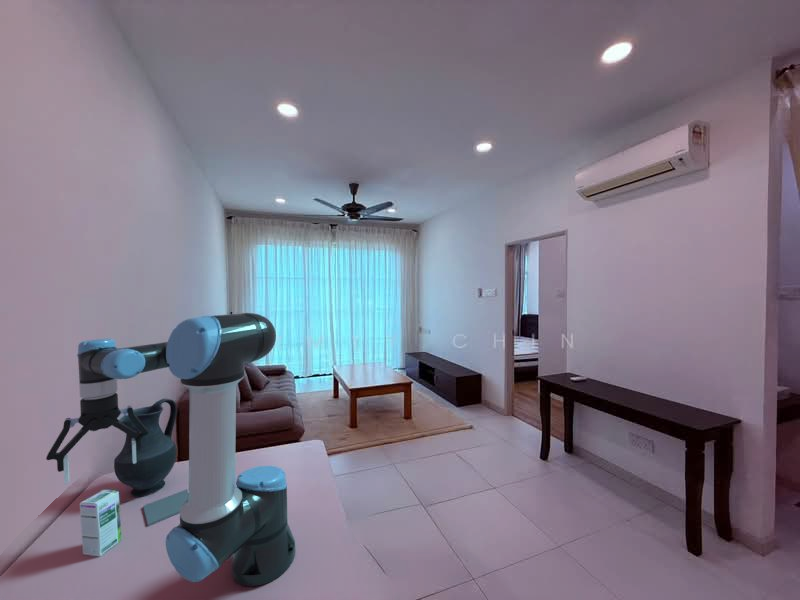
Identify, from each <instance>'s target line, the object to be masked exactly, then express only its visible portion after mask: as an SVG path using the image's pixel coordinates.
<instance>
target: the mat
mask: <svg viewBox="0 0 800 600" xmlns="http://www.w3.org/2000/svg"><path fill="white" fill-rule="evenodd" d="M188 499H189V490H188V489H184V490H181V491H179V492H176V493H173V494H171V495H167V496H166V497H163V498H160V499H157V500H154V501H152V502H149V503H147V504H145V505H143V507H142V508H143V512H144V516H145V521H146V524H147V526H148V527H149V526H152V525H154V524H157V523H160V522H161V521H164V520H167V519H169V518H171V517H173V516H177V515H178V514H179V515H180V510H181V507H182V506H183V504H184V503H185V502H186V501H187V500H188Z"/></svg>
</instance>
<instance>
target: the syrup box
mask: <svg viewBox="0 0 800 600" xmlns="http://www.w3.org/2000/svg"><path fill="white" fill-rule="evenodd" d="M119 493H120V492H119V491H118V490H113V489H101V490H100V491H99V492H97V493H95V494H94V495H92V496H90V497H88V498H87V499H84V500H82V501H81V502H80V503H79V513H80V514H79V515H80V529H81V530H80V531H81V542H82V543H81V545H82V554H83V555H84V556H85V555H86V556H91V557H101V556H103V555H104V554H105V553H106V552H108V551H109V550H111V549H112V548H113V547H114V546H116V545H117V544H119V543H120V542H121V541H122V526H121V525H122V524H121V510H120V494H119Z"/></svg>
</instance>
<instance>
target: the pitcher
mask: <svg viewBox="0 0 800 600" xmlns="http://www.w3.org/2000/svg"><path fill="white" fill-rule="evenodd" d="M163 403H165V404H166V403H167V404H168V405H169V407H170V411H169V412H170V413H169V418H168V421H167V424H166V426H165V429H164V432H163V430H162V428H161V426H160V416H161V414H162V412H163V411H164V407H162V404H163ZM133 413H134V414H135V415H136V416H137V418H138V419H139V420H140V421H141V423H142V424H143V425H144V426H145V428H146V429H147V430H148V435H146V436H143V437H142V438H141V449H140V450H136V463H135V464H133V461H132V438H133V437H131V436H129V435H128V434H126V433H125V442H124V445H123V446H122V449H121V451H120V452H119V454H117V455H116V456H115V458H114V463H113V466H114V467H113V468H114V470H113V471H114V474H115V477H116V478H117V479H118V480H119V482H120V483H122V484H123V485H125V486H128V487H129V488H131V489H132V490H131V491H130V495H131V496H132V497H134V498H139V497H140V496H141V497H145V496H149V495H151V493H152V494H154V493H156V492H157V491H160V490H161V489H162V488H164V486H165V485H166V481H165V479H166V477H167V476H168V475H169V474H170V473H171V471H172V470H173V468H174V466H175V463H176V459H177V445H176V443H175V442H174V441H173V440H172V434H173V431H174V426H175V424H176V420H177V414H178V406H177V403H176V401H175V400H173V399H171V398H161V399H160V400H158V401H156V402H155V403H154V404H152V405H150V406H145V407H139V408H135V409H133ZM118 420H120V421H121V422H122V423H124V424H125V425H127V426H128V427H130V428H132V429H133V430H135V431H136V432H138V433H139V432H141V431H140V430H139V429H138V428H137V427H136V425H135V424H134V423H133V422H132V420H131V419H130V418H129V416H128V415H127V416H125V415H124V414H123V415H122V416H120V418H119V419H118ZM148 494H149V495H148Z"/></svg>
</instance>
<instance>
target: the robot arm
mask: <svg viewBox="0 0 800 600" xmlns="http://www.w3.org/2000/svg"><path fill="white" fill-rule="evenodd" d="M276 332H277V330H276V328H275V327H274V325H273V323H272V322H271V321H270V319H268V318H267V317H265V316H263V315H261V314H259V313H253V312H243V313H234V314H232V313H231V314H218V315H203V316H198V317H191V318H187V319H185V320H183V321H181V322H180V323H178V324H177V325H176V327H175V328H174V329H173V330H172V332H171V333H170V335H169V337H168V340H167V341H163V342H159V343H157V342H156V343H152V344H151V343H149V344H143V345H142V344H141V345H135V346H127V347H122V348H119V347H118V348H117V344H116V340H115V339H114V338H113V339H112V338H99V339H98V338H97V339H88V340H84V341H83V340H82V341H81V342H80V343H78V346H77V355H76V356H77V359H78V361H77V362H78V380H79V383H78V385H79V397H80V398H81V399H80V400H79V402H80V403H79V404H80V405H79V407H80V409H79V410H80V415H79V417H75V418H70V417H66V418H65V419H64V422H63V427H62V430H61V431H60V432H59V435H58V436H57V437H56V439H55V441H54V443H53V445H52V446H51V448H50V450H49V451H48V453H47V455H46V460H47V461H51V460H56V467H57V471H58V473H60V472H63V479H64V482H63V483H64V485H67V484H69V483H70V462H69V457H70V456H69V453H70V451H71V450H72V449H73V448H74V447H75V446H76V445H77V444H78V442H80V441H81V439H82V438H83V437H84V436H85V435H86V434H87V433H88V432H89V431H91V432H96V431H99V430H105V429H109V428H111V427H114V428H116V429H118V430H119V431H121V432H123V433H125V435H126V434H128V435H129V436H131V437H133V438H132V461H133V464H135V463H136V450H140V449H141V438H142V437H143V436H146V435H148V430H147V429H146V428H145V426H144V425H143V424H142V423H141V421H140V420H139V419H138V418H137V416H136V415H135V414H134V413H133V410H134V409H133V406H132V405H128V406H127V407H123V408H121V409H120V408H119V394H118V393H117V392H118V380H122V379H123V380H128V379H132V378H134V377H136V376H138V375H139V374H143V373H146V372H152V371H156V370H161V369H166V368H168V369H169V371H170V373H172V375H173V376H174V377H175V378H178V379H180V385H181V386H184V388H186V389H187V390H189V391H188V392H189V407H188V408H189V411H188V412H189V415H188V416H189V418H188V422H189V427H188V429H189V430H188V431H189V432H188V434H189V435H188V439H189V441H188V448H189V449H188V493H189V499H188V500H187V501H186V502H185V503H184V504H183V506H182V507H181V510H180V513H179V524H178V525H177V526H175V527H173V528H172V529H171V530H170V531H169V532H168V534H167V535H166V538H165V549H166V554H167V556H168V559H169V561H170V563H171V565H172V566H173V567H174V569H175V571H176V572H177V573H178V574H179V575H180V576H181V577H182V578H184V579H185V580H187V581H189V582H192V583H198V582H201V581H202V580H204V579H205V578H207V577H208V576H210V575H211V574H212V573H213V572H215V571H217V570H218V569H219V567H221V566H222V565H223V564H225V562H226V561H228V560H229V559H230V558H231V557H232V561H231V576H232V578H233V581H235V583H237V584H238V585H240V586H242V587H248V586H253V587H259V586H263V585H266V584H268V583H270V582H272V581H274V580H276V579H277V578H279V577H280V576H282V575H283V574H284V573H285V572H286V571H287V570H288V569H289V568H290V567H291V565H292V563H293V561H294V559H295V556H296V542H295V541H296V540H295V537H294V535H293V532H292V530H291V528H290V526H289V523H288V483H287V476H286V473H285V471H284V470H283V468H281V467H278V466H274V465H261V466H260V465H259V466H255V467H251V468H250V469H245V470H244V471H242V472H241V473H240V474H239V475H238V476H237V478H236V435H237V434H236V433H237V431H236V430H237V429H236V428H237V427H236V426H237V419H236V418H237V385H238V384H239V383H240V382H241V381H242V380H243V379H244V377H245V365H246V364H251V363H253V362H257V361H258V360H261V359H263V358H264V357H266V356H268V354H269V353H271V351H272V350H273V349H274V346H275V344H276V340H277V333H276ZM121 414H123V415H125V416H127V415H128V416H129V418H130V419H131V420H132V422H133V423H134V424H135V425H136V427H137V428H138V429H139V430H140V431H141V432H139V433H138V432H136V431H135V430H133V429H132V428H130V427H128V426H127V425H125V424H124V423H122V422H121V421H120V420H119V419H118V418H119V417H120V415H121ZM76 424H80V426H82V427H81V428H80V429H79V431H78V432H76V434H75V435H74V436H73V437H72V438H71V439H70V440H69V442H67V443H66V444H65V446H64V447H63V448H62V449H61V450H60V451H59V452H58V450H59V449H60V446H62V443H63V442H64V440H65V438H66V436H67V435H68V433H69V432H70V428H73V427H75V425H76ZM258 585H259V586H258Z"/></svg>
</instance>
